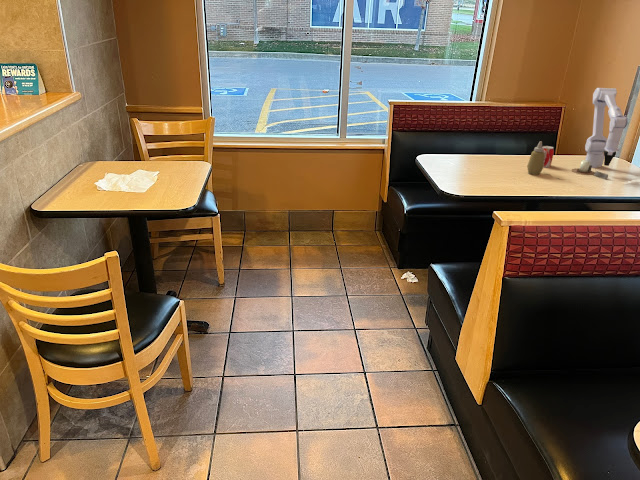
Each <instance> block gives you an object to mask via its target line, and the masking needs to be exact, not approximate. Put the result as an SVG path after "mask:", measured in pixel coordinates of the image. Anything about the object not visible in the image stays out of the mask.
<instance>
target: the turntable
mask: <svg viewBox="0 0 640 480" xmlns="http://www.w3.org/2000/svg"><path fill="white" fill-rule="evenodd" d="M592 169H593V168H592V166H591V165H590V166H589V169H588V172H582V171H579V168H572V169H571V170H570V172H572V173H574V174H576V175H581V176H594V177H597V178H599V179H601V180H602V179H603V180H608V178H609V174H608V173H603V172H601V171H597V170H596V171H593V170H592Z"/></svg>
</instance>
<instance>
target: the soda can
mask: <svg viewBox="0 0 640 480" xmlns="http://www.w3.org/2000/svg"><path fill="white" fill-rule="evenodd" d="M542 148H544V151H543V152H544V153H545V156H544V165H543V168H551V166H552V162H553V158H554V153H555V150H554V146H549V145H542Z"/></svg>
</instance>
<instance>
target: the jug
mask: <svg viewBox="0 0 640 480" xmlns="http://www.w3.org/2000/svg"><path fill="white" fill-rule="evenodd" d="M590 164H591V162H590V161H587V160H585V159H582V160H581V161H580V165H579V168H578V169H579V171H582V172H588V169H589V166H590Z"/></svg>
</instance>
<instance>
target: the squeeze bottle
mask: <svg viewBox="0 0 640 480" xmlns="http://www.w3.org/2000/svg"><path fill="white" fill-rule="evenodd" d="M543 151H544V148H543V141H542V140H541V141H540V140H539V142H538V144H537V145H536V146H535V147H534V149H533V151H531V154H530V157H529V160H528V162H527V166H526V167H527V173H528V174H529V175H532V176H538V175H540V174H541V173H542V170H543V169H544V167H543V165H544V156H545V153H544V152H543Z"/></svg>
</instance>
